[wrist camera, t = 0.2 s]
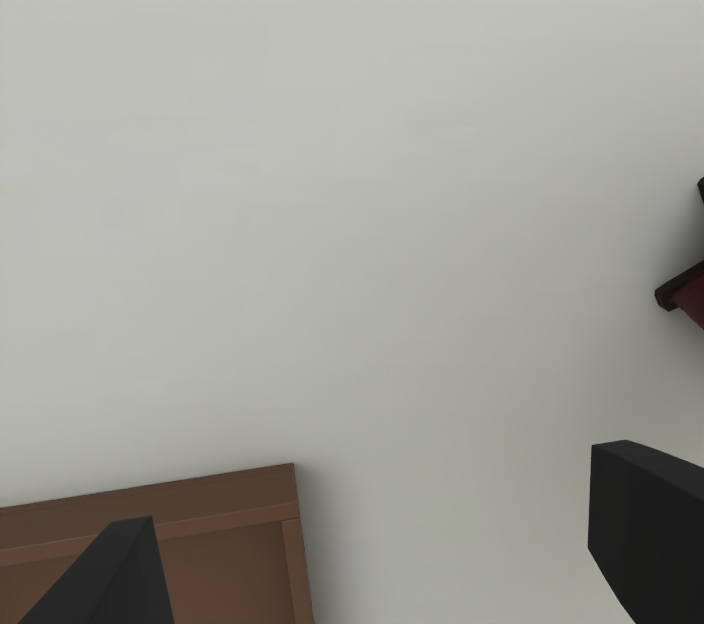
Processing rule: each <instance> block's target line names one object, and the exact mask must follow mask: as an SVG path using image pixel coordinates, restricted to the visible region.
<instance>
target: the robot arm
mask: <svg viewBox="0 0 704 624" xmlns="http://www.w3.org/2000/svg"><path fill="white" fill-rule="evenodd" d="M588 549H589V551H590V553H591V554H592V556H593V558H594V560H595V561H596V563H597V565H598V567H599V569H600V570H601V572H602V574H603V576H604V577H605V579H606V581H607V582H608V584H609V586H610V587H611V589H612V590H613V592H614V594H615V595H616V597H617V599H618V600H619V602H620V603H621V605H622V606H623V607H624V609H625V610H626V611H627V613H628V614H629V616H630V617H631V618H632V620H633V621H634V622H635V623H636V624H704V468H702V467H700V466H697V465H695V464H692V463H690V462H687V461H685V460H682V459H680V458H677V457H675V456H672V455H669V454H667V453H664V452H661V451H659V450H656V449H653V448H650V447H648V446H645V445H642V444H639V443H635V442H632V441H629V440H620V441H614V442H608V443H602V444H595V445H592V449H591V475H590V501H589V527H588ZM17 624H175V622H174V618H173V613H172V608H171V603H170V599H169V594H168V589H167V585H166V580H165V575H164V570H163V566H162V561H161V556H160V551H159V547H158V542H157V537H156V533H155V528H154V523H153V518H152V515H151V516H144V517H138V518H132V519H126V520H119V521H113V522H110V523H109V524H108V525H107V526H106V527H105V528H104V530H103V531H102V532H101V533H100V534H99V535H98V536H97V537H96V538H95V539H94V540H93V541H92V543H91V544H90V545H89V546H88V547H87V548H86V549H85V550H84V551H83V553H82V554H81V555H80V556H79V557H78V558H77V559H76V560H75V561H74V563H73V564H72V565H71V566H70V567H69V568H68V569H67V570H66V571H65V573H64V574H63V575H62V576H61V577H60V578H59V579H58V580H57V581H56V582H55V583H54V584H53V586H52V587H51V588H50V589H49V590H48V591H47V592H46V593H45V594H44V595H43V596H42V597H41V598H40V600H39V601H38V602H37V603H36V604H35V605H34V606H33V607H32V608H31V609H30V610H29V611H28V612H27V614H26V615H25V616H24V617H23V618H22V619H21V620H20V621H19V622H18V623H17Z"/></svg>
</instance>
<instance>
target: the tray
mask: <svg viewBox="0 0 704 624" xmlns="http://www.w3.org/2000/svg"><path fill="white" fill-rule="evenodd" d="M151 515H152V518H153V523H154V528H155V533H156V537H157V542H158V547H159V551H160V556H161V561H162V566H163V570H164V575H165V580H166V585H167V589H168V594H169V599H170V603H171V608H172V613H173V618H174V622H175V624H314V619H313V611H312V603H311V596H310V588H309V580H308V573H307V565H306V557H305V549H304V542H303V534H302V526H301V519H300V511H299V503H298V495H297V488H296V480H295V472H294V465H293V463H290V464H283V465H277V466H271V467H264V468H258V469H251V470H245V471H238V472H232V473H226V474H219V475H213V476H206V477H200V478H194V479H187V480H181V481H174V482H168V483H161V484H155V485H149V486H142V487H136V488H129V489H123V490H116V491H110V492H104V493H97V494H91V495H84V496H78V497H71V498H65V499H59V500H52V501H46V502H39V503H33V504H26V505H20V506H14V507H7V508H1V509H0V624H17V623H18V622H19V621H20V620H21V619H22V618H23V617H24V616H25V615H26V614H27V612H28V611H29V610H30V609H31V608H32V607H33V606H34V605H35V604H36V603H37V602H38V601H39V600H40V598H41V597H42V596H43V595H44V594H45V593H46V592H47V591H48V590H49V589H50V588H51V587H52V586H53V584H54V583H55V582H56V581H57V580H58V579H59V578H60V577H61V576H62V575H63V574H64V573H65V571H66V570H67V569H68V568H69V567H70V566H71V565H72V564H73V563H74V561H75V560H76V559H77V558H78V557H79V556H80V555H81V554H82V553H83V551H84V550H85V549H86V548H87V547H88V546H89V545H90V544H91V543H92V541H93V540H94V539H95V538H96V537H97V536H98V535H99V534H100V533H101V532H102V531H103V530H104V528H105V527H106V526H107V525H108V524H109V523H110V522H113V521H119V520H126V519H132V518H138V517H144V516H151Z"/></svg>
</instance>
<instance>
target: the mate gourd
mask: <svg viewBox="0 0 704 624" xmlns="http://www.w3.org/2000/svg"><path fill="white" fill-rule="evenodd" d="M698 186H699V190H700V194H701V197H702V200H703V203H704V177H703V178H702V179H701V180H700V181H699V183H698ZM655 297H656V300H657V302H658V305H659V306H660V307H662V308H664V309H665V310H667V311H668V312H669V311H672V310H674V309H676V308H678V307H680V308H681V309H682V310H683V311H685V313H686V314H687V315H688V316H689V317H690V318H691V319H692V320H693V321H694V322H696V323H697V324H698V325H699V326H700V327H701V328H702V329H703V330H704V260H703V261H702V262H700V263H698V264H697V265H695V266H693V267H692V268H690V269H688V270H687V271H685V272H683V273H682V274H680V275H678V276H677V277H675V278H673V279H672V280H670V281H668V282H667V283H665V284H664V285H662V286H661V287H659V288H658V289H656V290H655Z"/></svg>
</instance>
